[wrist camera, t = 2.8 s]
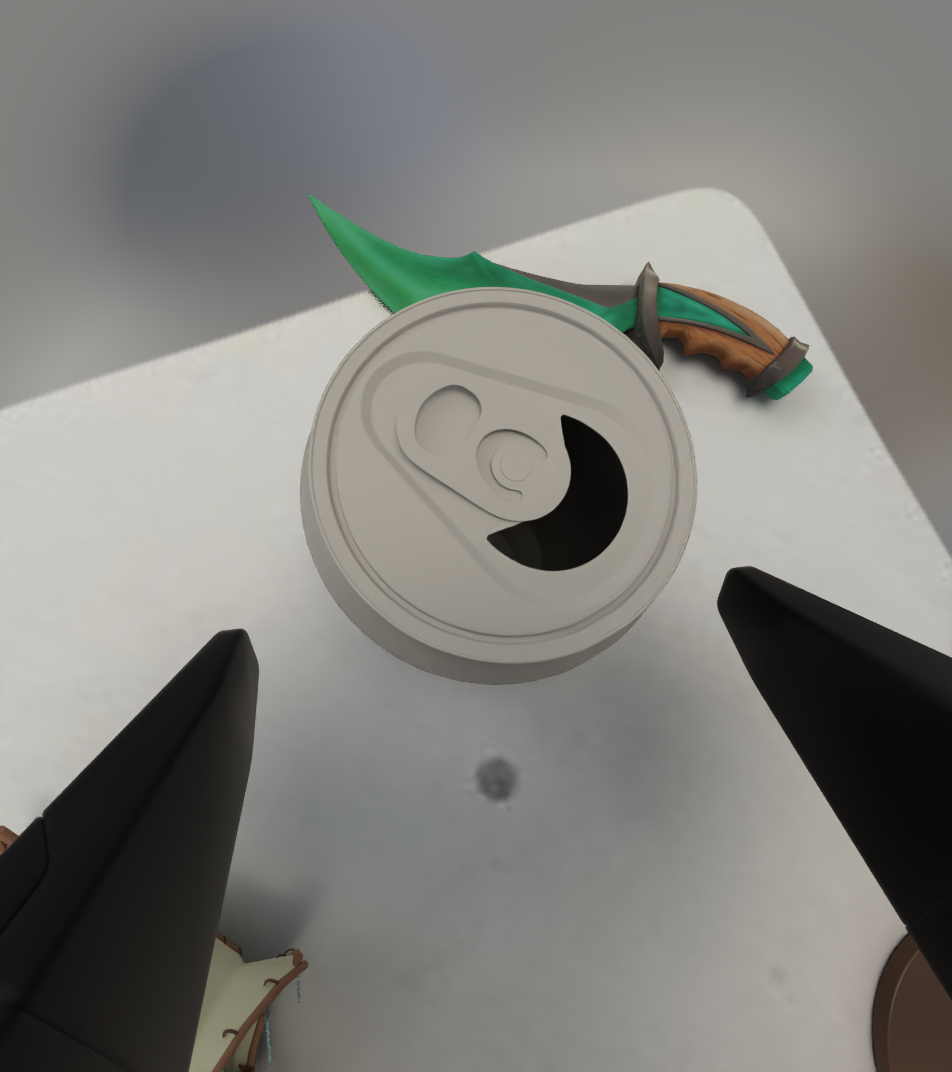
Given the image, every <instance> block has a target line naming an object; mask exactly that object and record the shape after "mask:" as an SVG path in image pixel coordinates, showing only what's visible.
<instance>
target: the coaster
mask: <svg viewBox="0 0 952 1072" xmlns="http://www.w3.org/2000/svg"><path fill="white" fill-rule="evenodd" d="M873 1043H874V1052H875V1059H876V1065H877V1069H878V1072H952V1002H951V1000H950V999H949V997H948V995H947V994H946V992H945V991H944V989H943V987H942V986H941V984H940V982H939V981H938V979H937V978H936V976H935V974H934V973H933V971H932V970H931V968H930V966H929V965H928V963H927V962H926V960H925V958H924V957H923V955H922V953H921V952H920V950H919V949H918V947H917V945H916V944H915V942H914V941H913V939H912V937H911V936H910V934H909V935H908V936H907V937H906V938H905V939H904V940H903V941H902V943H901V944H900V945H899V947H898V948H897V949H896V950H895V952H894V953H893V955H892V957H891V959H890V960H889V962H888V964H887V966H886V968H885V971H884V973H883V975H882V978H881V981H880V984H879V988H878V991H877V995H876V1001H875V1007H874V1017H873Z"/></svg>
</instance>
